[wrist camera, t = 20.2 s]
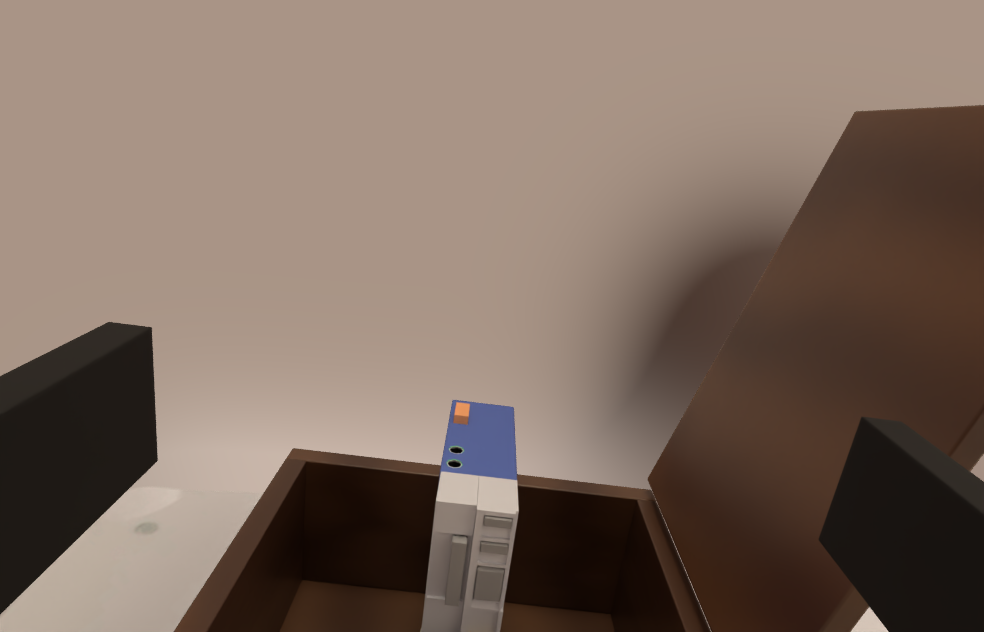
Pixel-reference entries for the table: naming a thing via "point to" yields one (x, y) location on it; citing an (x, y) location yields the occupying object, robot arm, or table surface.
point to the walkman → (473, 521)
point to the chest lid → (834, 368)
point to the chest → (406, 550)
